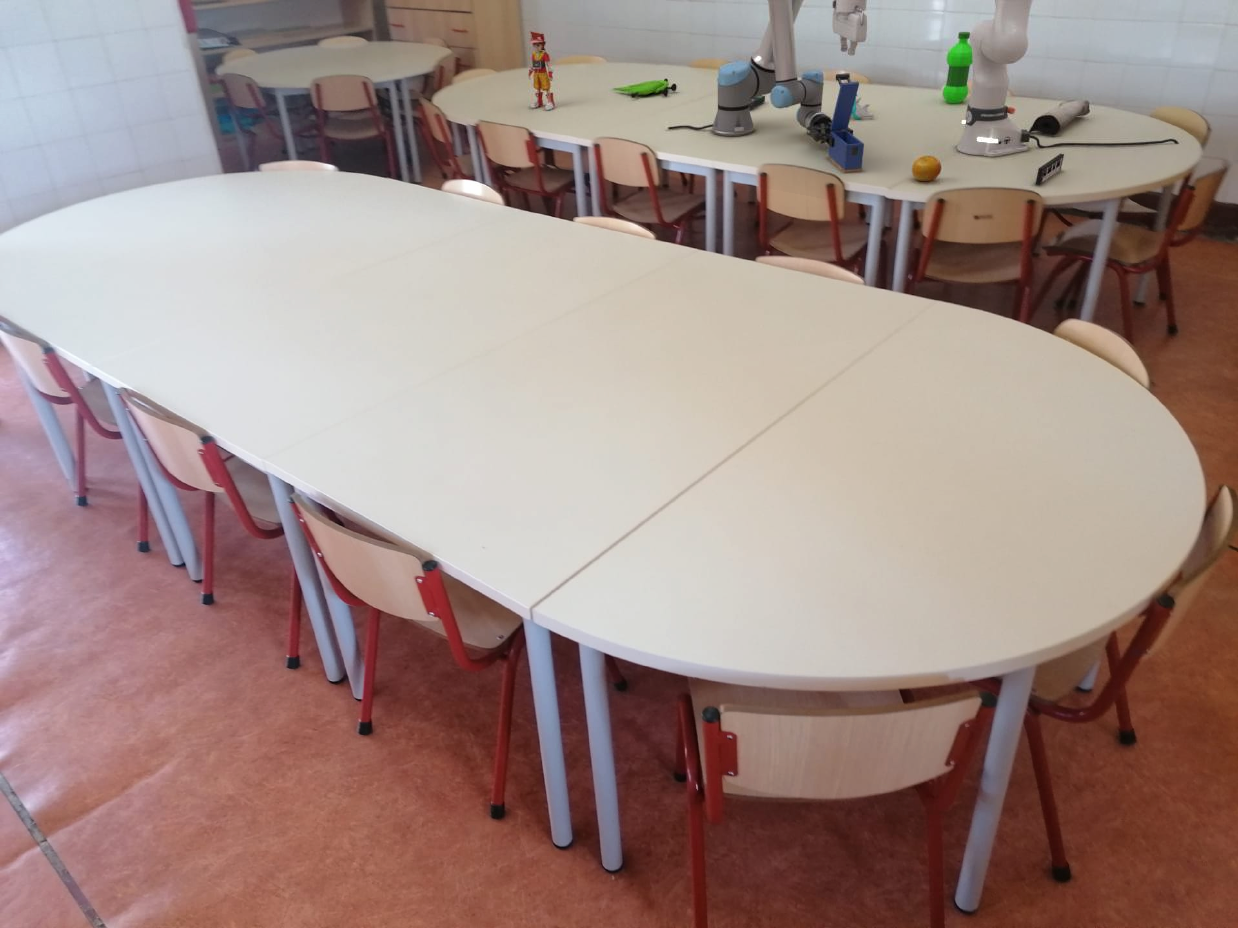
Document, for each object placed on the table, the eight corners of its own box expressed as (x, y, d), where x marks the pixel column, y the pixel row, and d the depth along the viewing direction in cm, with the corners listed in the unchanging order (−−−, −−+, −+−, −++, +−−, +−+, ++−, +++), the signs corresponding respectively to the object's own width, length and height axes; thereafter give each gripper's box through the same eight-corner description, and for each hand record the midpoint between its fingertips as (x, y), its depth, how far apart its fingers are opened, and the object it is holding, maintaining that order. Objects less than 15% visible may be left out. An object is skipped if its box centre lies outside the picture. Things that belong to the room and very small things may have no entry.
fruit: (905, 171, 275) (922, 148, 272) (907, 173, 283) (923, 151, 280) (928, 186, 274) (945, 163, 271) (929, 188, 282) (946, 166, 279)
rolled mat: (1057, 104, 331) (1081, 87, 323) (1070, 125, 332) (1095, 108, 324) (1024, 126, 314) (1049, 109, 306) (1039, 148, 314) (1064, 131, 306)
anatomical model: (836, 88, 347) (861, 81, 346) (838, 115, 353) (863, 108, 352) (847, 98, 335) (873, 90, 334) (849, 125, 341) (875, 118, 340)
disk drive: (750, 111, 360) (765, 102, 370) (750, 104, 358) (765, 95, 368) (726, 109, 364) (742, 100, 375) (726, 102, 363) (742, 93, 373)
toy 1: (525, 109, 381) (517, 32, 364) (534, 104, 388) (527, 28, 371) (550, 110, 377) (543, 32, 360) (559, 105, 384) (553, 28, 367)
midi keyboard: (1039, 185, 269) (1043, 168, 266) (1035, 184, 270) (1038, 168, 267) (1060, 170, 279) (1064, 154, 277) (1056, 169, 280) (1060, 153, 277)
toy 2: (686, 85, 398) (631, 84, 414) (685, 72, 395) (629, 72, 411) (651, 104, 381) (596, 103, 397) (650, 92, 378) (594, 91, 394)
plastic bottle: (973, 101, 354) (984, 32, 339) (955, 106, 349) (966, 36, 335) (952, 97, 361) (962, 29, 346) (934, 102, 356) (944, 33, 342)
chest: (861, 171, 290) (864, 143, 285) (844, 172, 289) (846, 145, 284) (844, 156, 303) (846, 130, 298) (828, 158, 303) (830, 131, 298)
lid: (859, 83, 283) (852, 66, 287) (842, 85, 283) (835, 68, 287) (847, 129, 298) (840, 112, 302) (830, 131, 297) (824, 114, 302)
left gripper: (843, 133, 318) (868, 150, 299) (792, 138, 316) (814, 156, 297) (845, 111, 314) (871, 127, 295) (794, 115, 312) (816, 133, 293)
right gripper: (874, 8, 267) (869, 58, 274) (849, -1, 283) (845, 46, 291) (854, 10, 266) (849, 60, 274) (830, 1, 283) (826, 48, 291)
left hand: (842, 142), depth 296 cm, fingers closed on chest, 6 cm apart
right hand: (847, 53), depth 283 cm, fingers open, 5 cm apart
